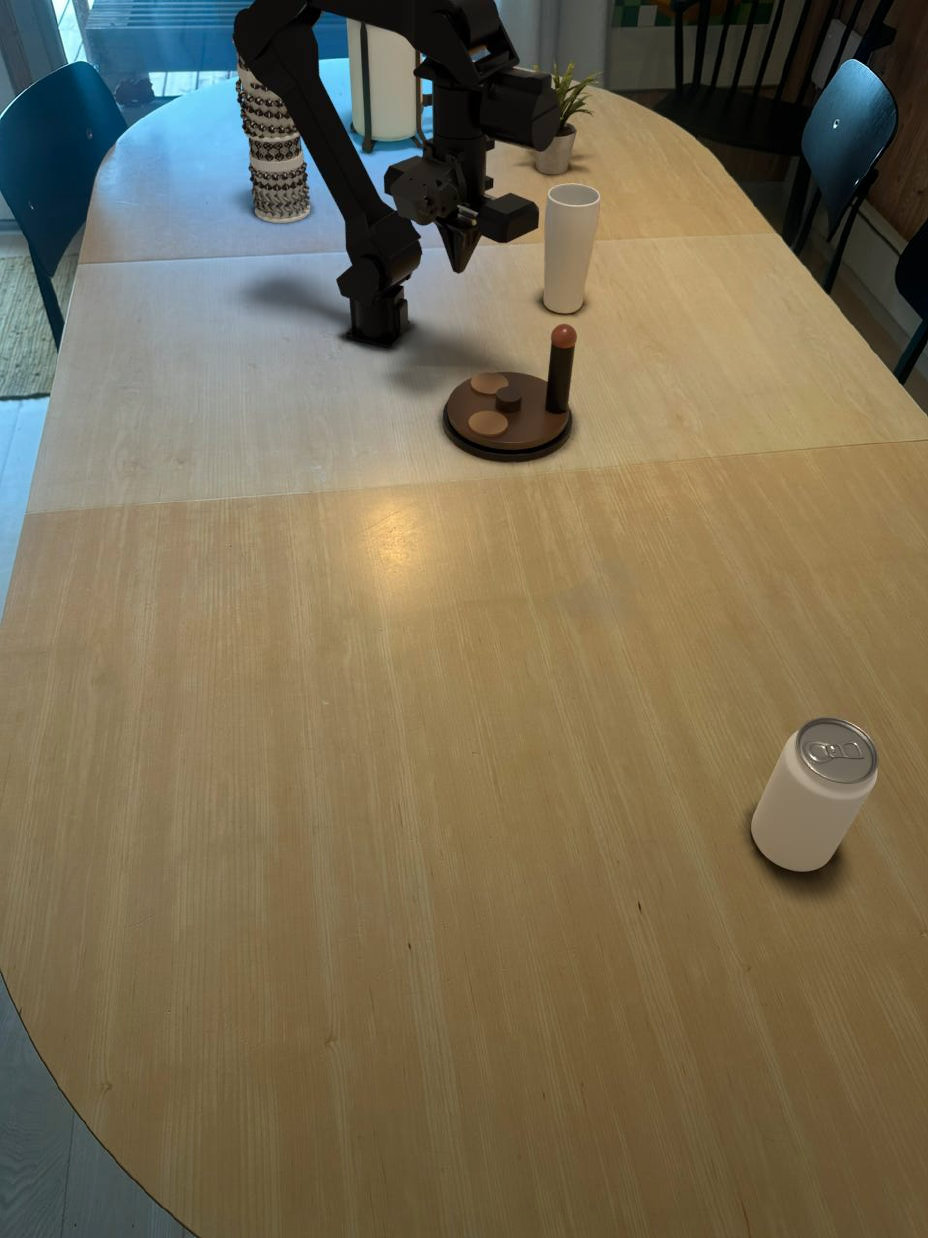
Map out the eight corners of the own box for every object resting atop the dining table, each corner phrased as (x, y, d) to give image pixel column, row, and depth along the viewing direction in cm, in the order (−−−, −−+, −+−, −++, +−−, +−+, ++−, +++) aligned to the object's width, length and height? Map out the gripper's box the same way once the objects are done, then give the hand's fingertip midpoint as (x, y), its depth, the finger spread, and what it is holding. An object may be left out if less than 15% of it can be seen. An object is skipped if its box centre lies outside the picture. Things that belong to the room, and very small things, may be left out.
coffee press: (403, 164, 161) (398, -50, 139) (327, 142, 167) (311, -68, 145) (460, 131, 171) (464, -73, 149) (387, 111, 177) (380, -89, 155)
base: (422, 443, 110) (422, 435, 109) (470, 374, 119) (470, 367, 119) (548, 475, 106) (549, 468, 105) (587, 402, 116) (588, 395, 115)
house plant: (600, 190, 156) (614, 80, 144) (514, 188, 156) (521, 77, 144) (593, 154, 165) (606, 48, 153) (512, 152, 165) (519, 45, 153)
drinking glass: (584, 320, 128) (598, 208, 117) (534, 314, 129) (543, 202, 118) (590, 295, 133) (604, 185, 122) (541, 289, 134) (550, 179, 123)
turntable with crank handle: (444, 447, 107) (445, 357, 99) (450, 376, 117) (451, 288, 108) (570, 452, 107) (582, 362, 99) (566, 380, 116) (576, 292, 108)
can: (739, 804, 78) (778, 714, 69) (817, 799, 79) (865, 709, 70) (763, 877, 74) (807, 791, 65) (845, 871, 74) (900, 785, 65)
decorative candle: (325, 206, 150) (310, 24, 131) (287, 229, 144) (265, 42, 126) (279, 192, 153) (258, 11, 135) (240, 213, 148) (212, 28, 129)
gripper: (342, 125, 101) (352, 267, 112) (471, 177, 92) (469, 326, 104) (418, 99, 107) (421, 237, 118) (547, 145, 98) (537, 290, 109)
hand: (458, 271), depth 112 cm, fingers closed
